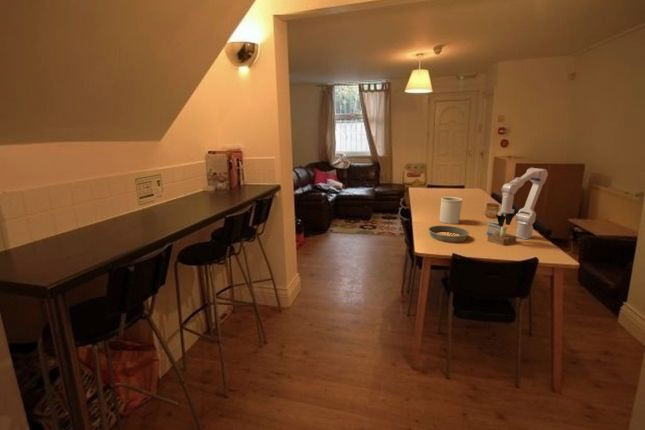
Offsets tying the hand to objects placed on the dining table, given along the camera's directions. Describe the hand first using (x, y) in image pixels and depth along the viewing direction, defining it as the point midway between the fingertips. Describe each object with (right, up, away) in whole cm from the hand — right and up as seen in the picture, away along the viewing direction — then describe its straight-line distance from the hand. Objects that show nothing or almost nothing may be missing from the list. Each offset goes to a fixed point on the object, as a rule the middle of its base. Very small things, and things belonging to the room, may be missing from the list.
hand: (504, 225), depth 213 cm
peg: (-1, -10, +2) cm, 10 cm away
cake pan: (-31, -8, +10) cm, 34 cm away
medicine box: (+1, -7, +14) cm, 16 cm away
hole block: (-1, -10, +2) cm, 10 cm away
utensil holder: (-17, +1, +46) cm, 49 cm away
